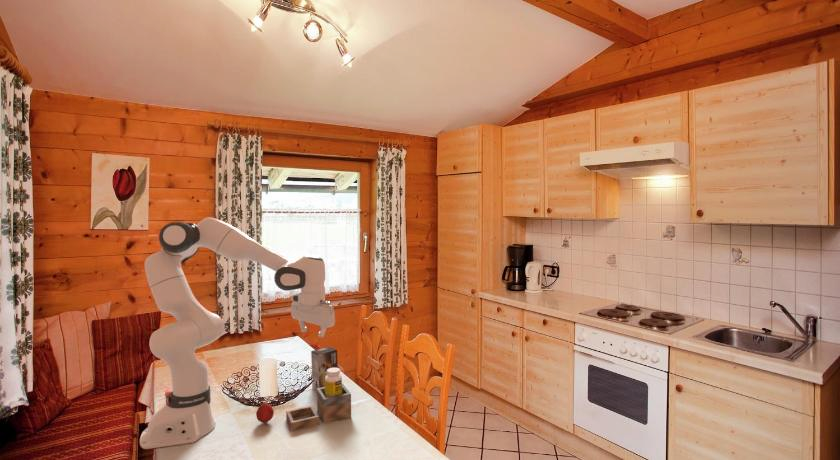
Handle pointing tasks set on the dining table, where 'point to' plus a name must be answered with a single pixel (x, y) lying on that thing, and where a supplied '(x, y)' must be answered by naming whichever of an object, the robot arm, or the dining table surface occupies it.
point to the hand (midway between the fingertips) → (312, 334)
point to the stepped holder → (322, 410)
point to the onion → (265, 413)
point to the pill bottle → (333, 382)
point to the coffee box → (322, 365)
